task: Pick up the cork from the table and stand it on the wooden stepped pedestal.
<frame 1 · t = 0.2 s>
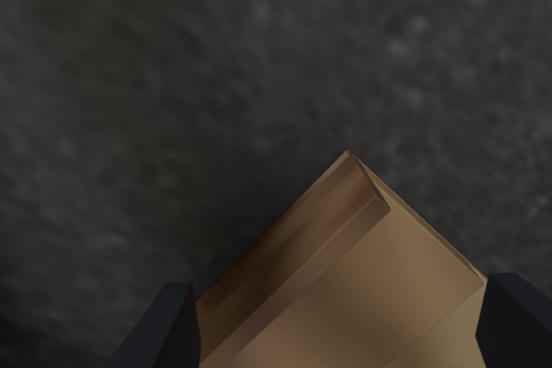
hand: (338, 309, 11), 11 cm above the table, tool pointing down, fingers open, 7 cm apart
wooden stepped pedestal: (370, 328, 24), on the table
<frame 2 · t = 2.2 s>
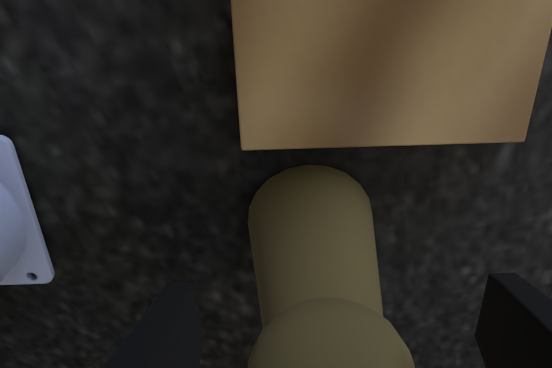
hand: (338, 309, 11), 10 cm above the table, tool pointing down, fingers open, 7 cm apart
cork: (309, 218, 23), on the table
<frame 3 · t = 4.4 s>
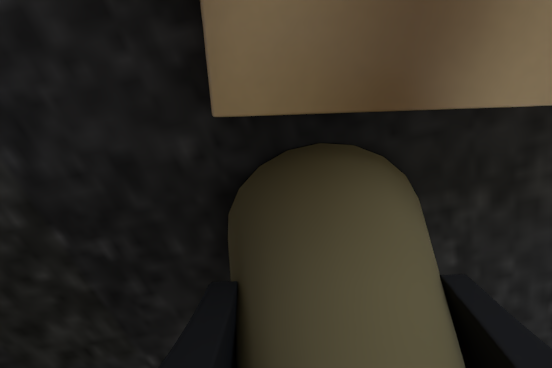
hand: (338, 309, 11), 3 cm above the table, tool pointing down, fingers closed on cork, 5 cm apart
cork: (323, 228, 15), on the table, touching gripper
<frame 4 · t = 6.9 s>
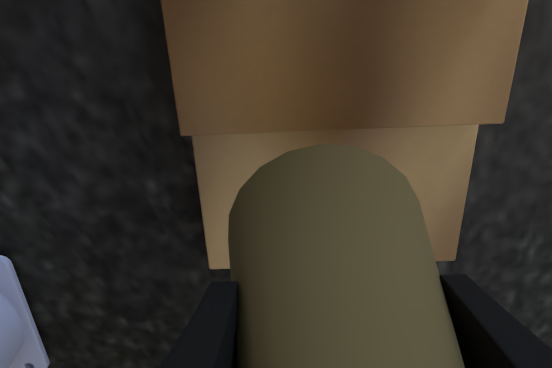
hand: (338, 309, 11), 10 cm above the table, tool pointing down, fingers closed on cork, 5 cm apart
cork: (323, 229, 15), point 7 cm above the table, touching gripper
wooden stepped pedestal: (332, 104, 20), on the table
when the fingers open (6 cm above the table, at t = 9.2 s): cork stays where it is, resting on wooden stepped pedestal.
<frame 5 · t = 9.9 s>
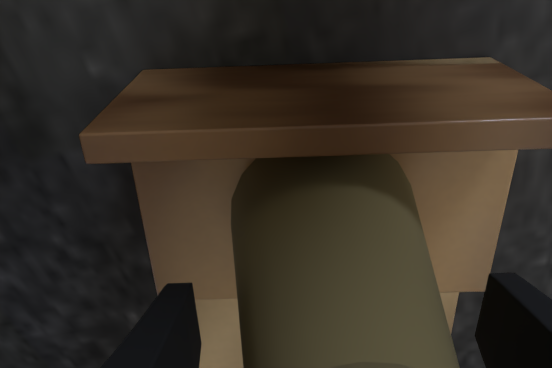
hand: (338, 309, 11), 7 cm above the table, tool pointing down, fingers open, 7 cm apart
cork: (321, 213, 15), point 3 cm above the table, touching wooden stepped pedestal
wooden stepped pedestal: (315, 248, 20), on the table
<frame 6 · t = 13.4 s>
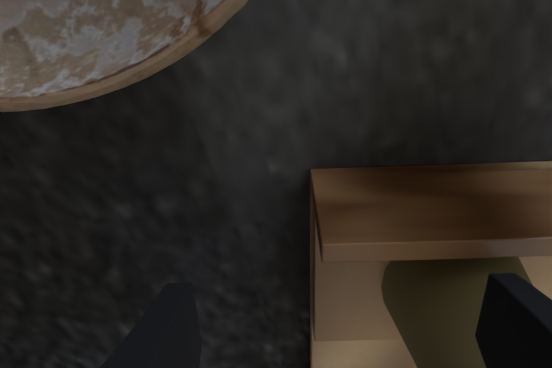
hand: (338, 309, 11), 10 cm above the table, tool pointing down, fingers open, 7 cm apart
cork: (448, 278, 21), point 3 cm above the table, touching wooden stepped pedestal
wooden stepped pedestal: (422, 295, 25), on the table
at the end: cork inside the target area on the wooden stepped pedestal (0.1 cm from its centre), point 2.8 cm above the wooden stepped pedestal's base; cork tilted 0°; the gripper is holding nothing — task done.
